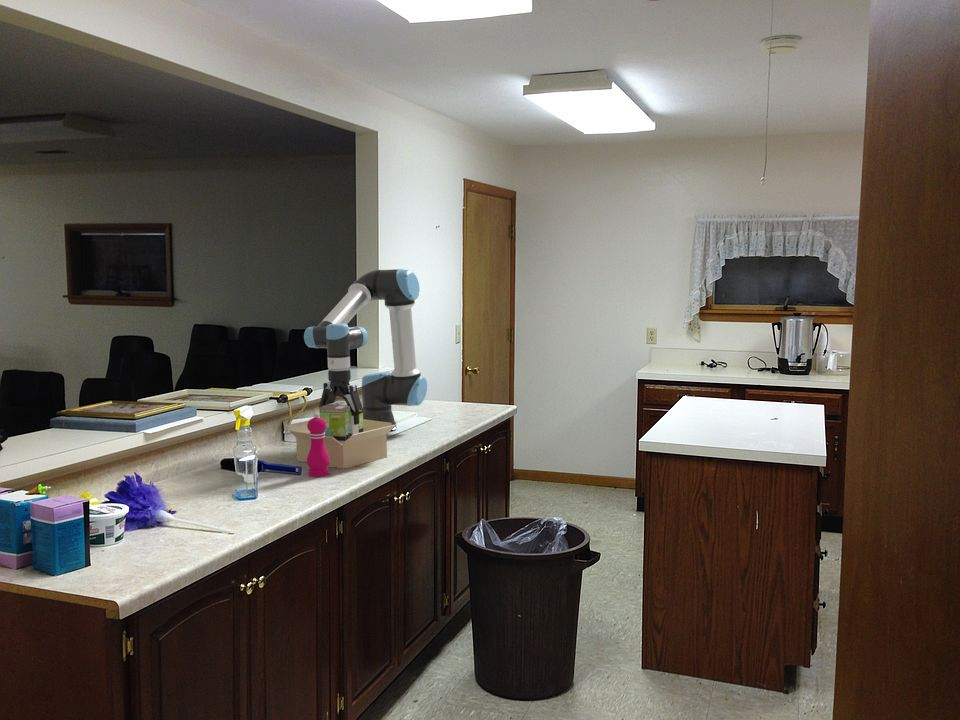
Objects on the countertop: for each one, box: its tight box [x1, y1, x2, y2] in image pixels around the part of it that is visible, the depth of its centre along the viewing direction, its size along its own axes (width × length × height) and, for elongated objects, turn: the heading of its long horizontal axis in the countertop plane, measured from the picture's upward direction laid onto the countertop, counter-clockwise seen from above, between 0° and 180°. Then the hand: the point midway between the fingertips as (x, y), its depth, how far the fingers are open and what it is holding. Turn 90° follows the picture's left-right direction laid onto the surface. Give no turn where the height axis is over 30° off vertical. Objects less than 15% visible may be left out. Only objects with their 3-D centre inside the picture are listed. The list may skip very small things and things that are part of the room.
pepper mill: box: [306, 412, 330, 478], centre depth 266 cm, size 7×7×20 cm
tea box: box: [318, 400, 363, 444], centre depth 288 cm, size 15×10×15 cm
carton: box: [286, 419, 397, 470], centre depth 288 cm, size 28×32×12 cm
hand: (341, 431), depth 288 cm, fingers closed on tea box, 12 cm apart
